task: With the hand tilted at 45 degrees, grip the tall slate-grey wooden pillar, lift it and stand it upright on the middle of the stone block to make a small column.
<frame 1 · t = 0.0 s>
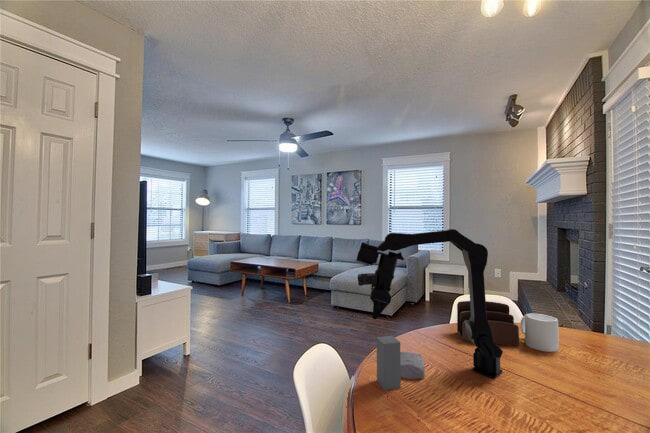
hand: (374, 314, 97), 15 cm above the table, tool pointing down, fingers open, 9 cm apart
mug: (539, 345, 110), on the table
stone block: (406, 370, 91), on the table
pillar: (388, 383, 83), on the table
letter holder: (486, 339, 116), on the table
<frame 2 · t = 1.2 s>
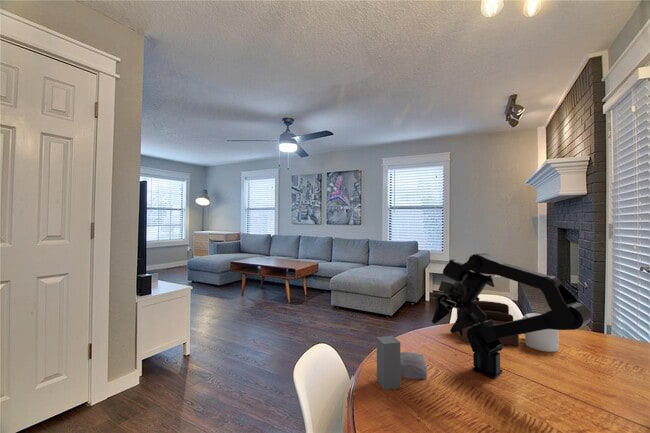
hand: (441, 327, 90), 14 cm above the table, tool tilted 45°, fingers open, 9 cm apart
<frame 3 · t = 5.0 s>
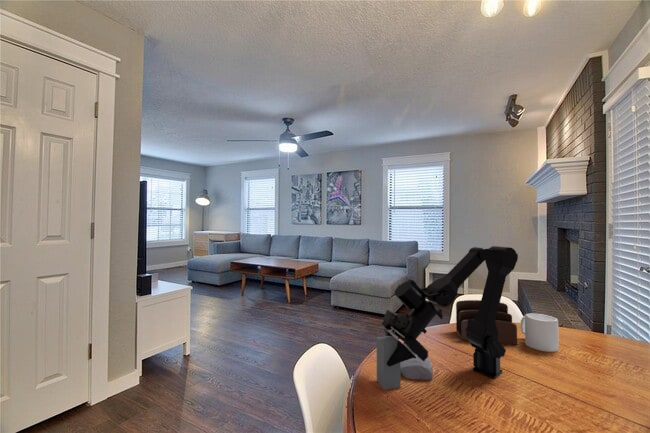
hand: (383, 360, 83), 7 cm above the table, tool tilted 45°, fingers closed on pillar, 5 cm apart
stone block: (414, 371, 91), on the table
pillar: (388, 383, 83), on the table, touching gripper
when the fingers open (12 cm above the table, at t = 8.7 s): pillar drops 1 cm, point 4 cm above the table.
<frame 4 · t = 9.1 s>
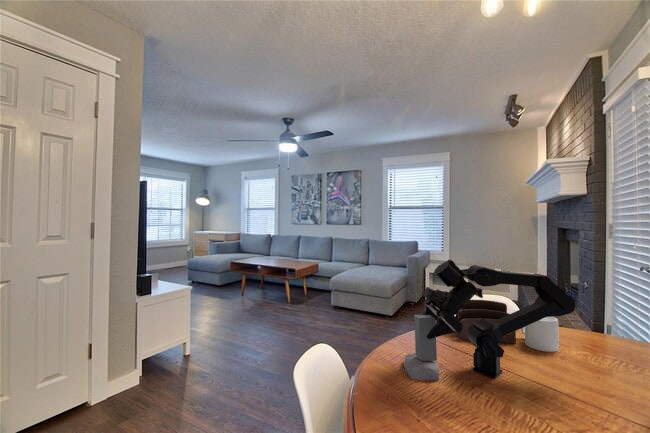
hand: (422, 332, 91), 12 cm above the table, tool tilted 45°, fingers open, 9 cm apart
stone block: (419, 372, 91), on the table
pillar: (426, 357, 91), point 4 cm above the table, tilted 6°
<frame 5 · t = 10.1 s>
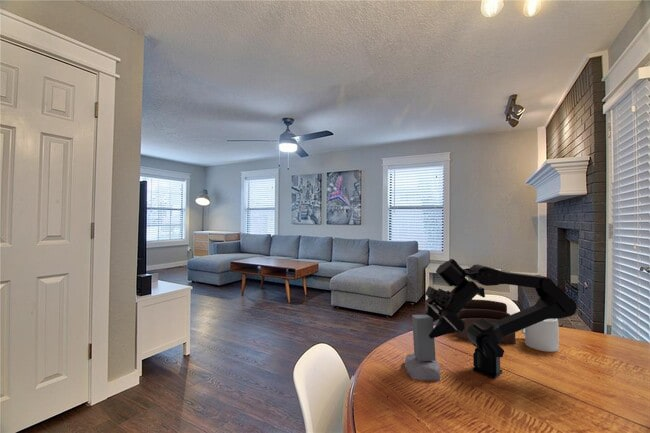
hand: (424, 331, 91), 12 cm above the table, tool tilted 45°, fingers open, 9 cm apart
stone block: (420, 372, 91), on the table, touching pillar
pillar: (424, 357, 91), point 4 cm above the table, touching stone block
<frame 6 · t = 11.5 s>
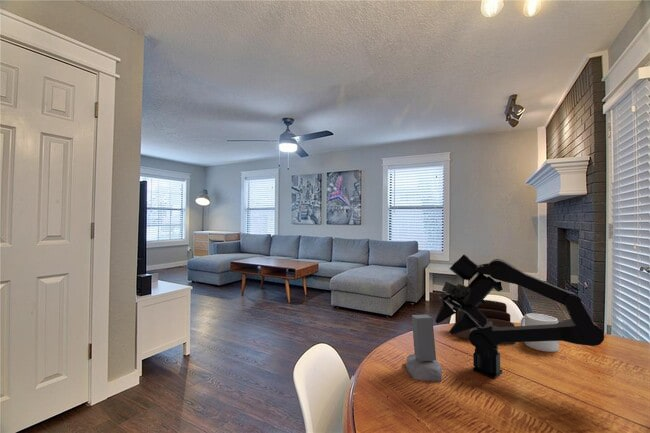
hand: (443, 327, 90), 14 cm above the table, tool tilted 45°, fingers open, 9 cm apart
stone block: (422, 372, 90), on the table
pillar: (425, 357, 91), point 4 cm above the table, tilted 6°
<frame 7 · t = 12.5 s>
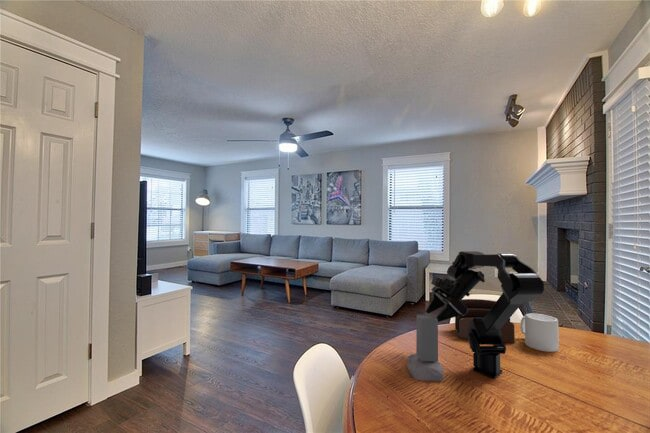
hand: (431, 316, 100), 14 cm above the table, tool tilted 45°, fingers open, 9 cm apart
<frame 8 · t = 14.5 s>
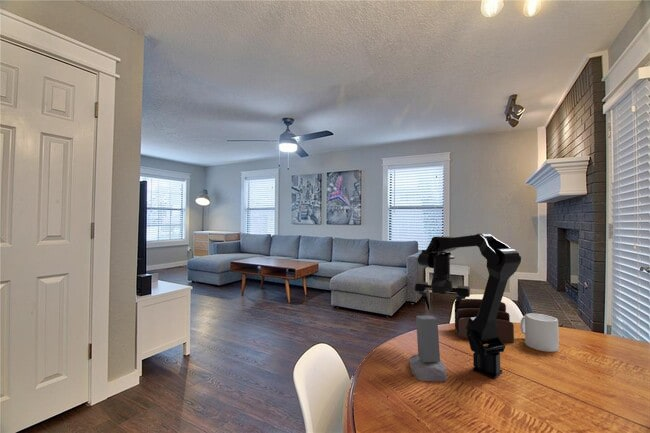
hand: (442, 312, 108), 13 cm above the table, tool pointing down, fingers open, 9 cm apart
at the end: pillar 0.9 cm off-centre on the stone block, point 4.5 cm above the stone block's base; pillar tilted 6°; the gripper is holding nothing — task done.
